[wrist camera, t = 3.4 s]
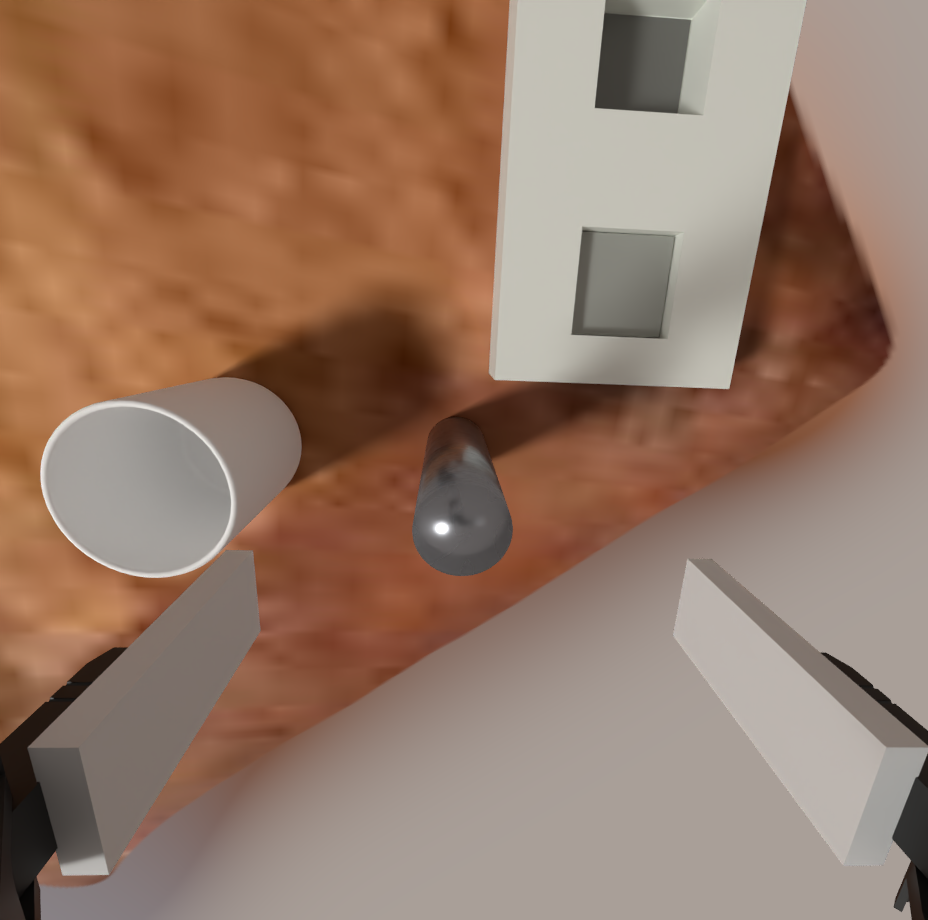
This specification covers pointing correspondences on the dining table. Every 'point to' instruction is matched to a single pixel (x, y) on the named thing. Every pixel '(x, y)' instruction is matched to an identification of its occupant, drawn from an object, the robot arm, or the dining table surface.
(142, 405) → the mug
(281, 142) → the dining table surface
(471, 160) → the dining table surface
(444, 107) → the dining table surface
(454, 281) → the dining table surface
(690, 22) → the bore block
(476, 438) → the steel pin
